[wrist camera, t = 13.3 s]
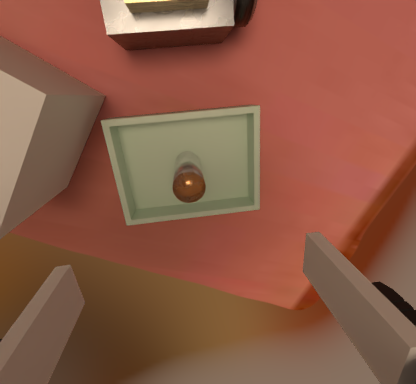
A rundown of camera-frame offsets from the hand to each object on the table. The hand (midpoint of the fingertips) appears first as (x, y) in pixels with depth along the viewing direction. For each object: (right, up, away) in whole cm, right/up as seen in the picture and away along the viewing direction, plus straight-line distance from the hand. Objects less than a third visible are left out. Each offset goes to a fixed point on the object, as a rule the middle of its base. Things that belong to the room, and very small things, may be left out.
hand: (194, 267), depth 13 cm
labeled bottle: (-2, +9, +21) cm, 23 cm away
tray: (-2, +9, +22) cm, 24 cm away
